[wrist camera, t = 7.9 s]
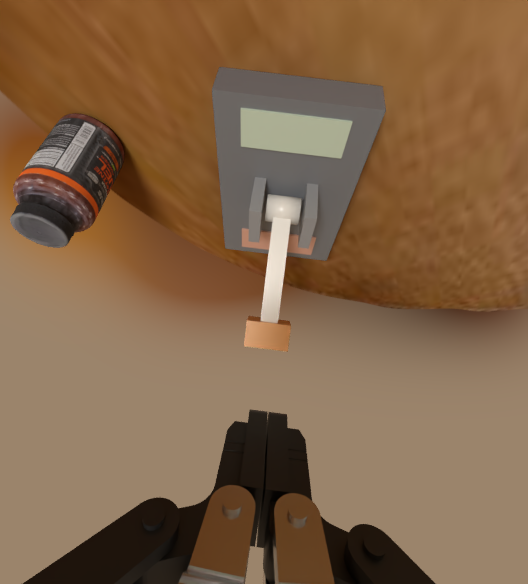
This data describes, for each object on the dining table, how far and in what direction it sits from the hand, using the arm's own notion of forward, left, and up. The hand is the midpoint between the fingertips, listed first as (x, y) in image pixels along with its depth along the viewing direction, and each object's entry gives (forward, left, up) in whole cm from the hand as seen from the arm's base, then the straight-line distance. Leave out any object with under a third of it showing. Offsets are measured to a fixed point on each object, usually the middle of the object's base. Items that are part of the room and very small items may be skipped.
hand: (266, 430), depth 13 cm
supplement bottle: (+19, +3, -24) cm, 31 cm away
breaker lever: (+1, +7, -20) cm, 22 cm away
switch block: (+1, +8, -24) cm, 25 cm away
